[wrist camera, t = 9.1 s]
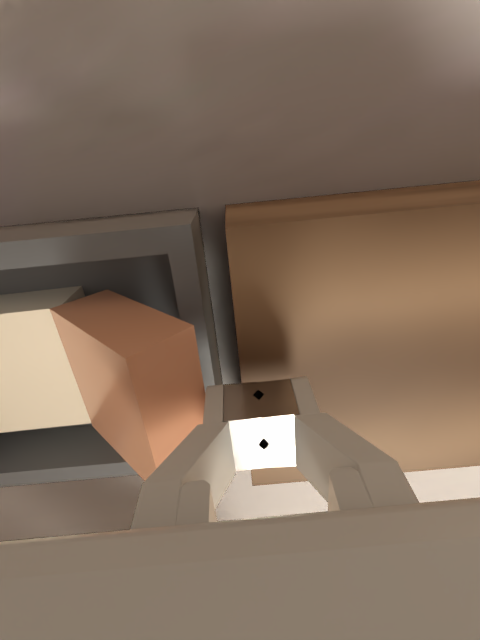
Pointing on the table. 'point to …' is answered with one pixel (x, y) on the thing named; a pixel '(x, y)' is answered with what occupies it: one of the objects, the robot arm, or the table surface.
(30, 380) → the cream block
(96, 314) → the peach rectangular prism
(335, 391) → the walnut board
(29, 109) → the table surface
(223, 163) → the table surface
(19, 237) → the charcoal tray
